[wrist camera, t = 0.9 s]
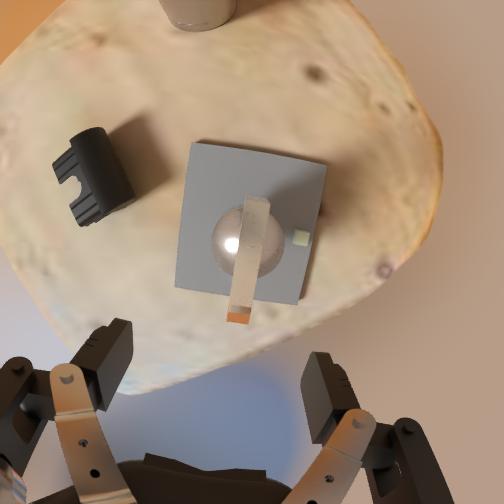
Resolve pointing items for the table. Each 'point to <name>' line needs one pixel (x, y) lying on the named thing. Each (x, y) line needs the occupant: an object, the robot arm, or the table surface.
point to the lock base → (233, 194)
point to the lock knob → (246, 251)
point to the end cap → (94, 176)
